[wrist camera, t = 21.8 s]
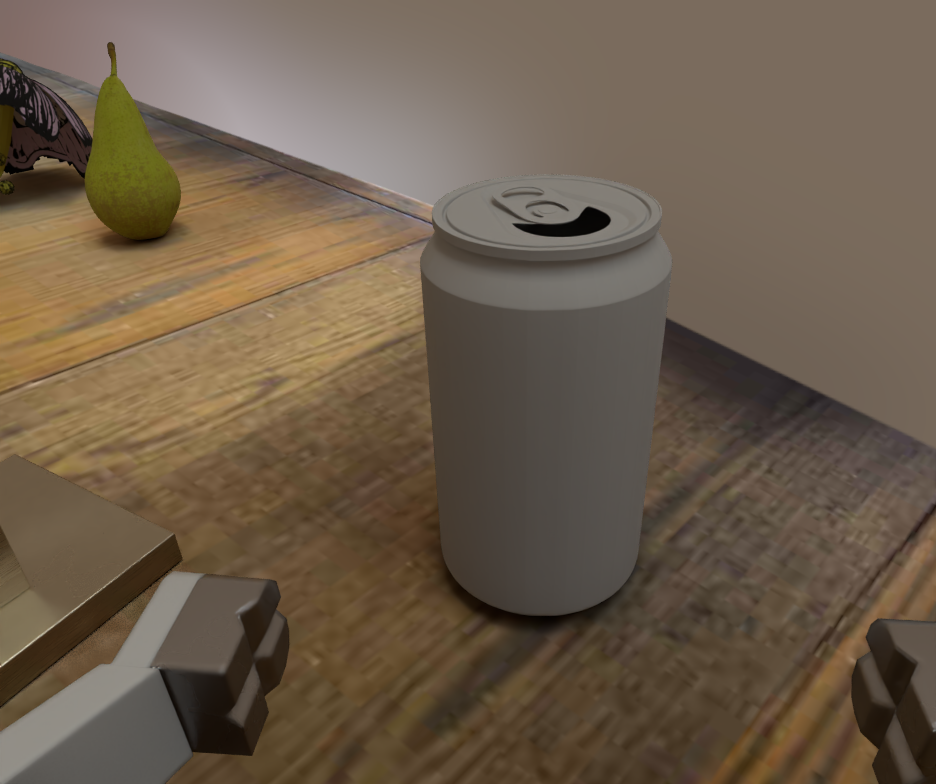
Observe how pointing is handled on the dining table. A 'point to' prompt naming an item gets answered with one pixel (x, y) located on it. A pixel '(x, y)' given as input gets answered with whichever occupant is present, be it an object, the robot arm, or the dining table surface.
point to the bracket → (65, 567)
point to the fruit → (128, 167)
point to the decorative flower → (36, 126)
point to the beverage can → (543, 383)
